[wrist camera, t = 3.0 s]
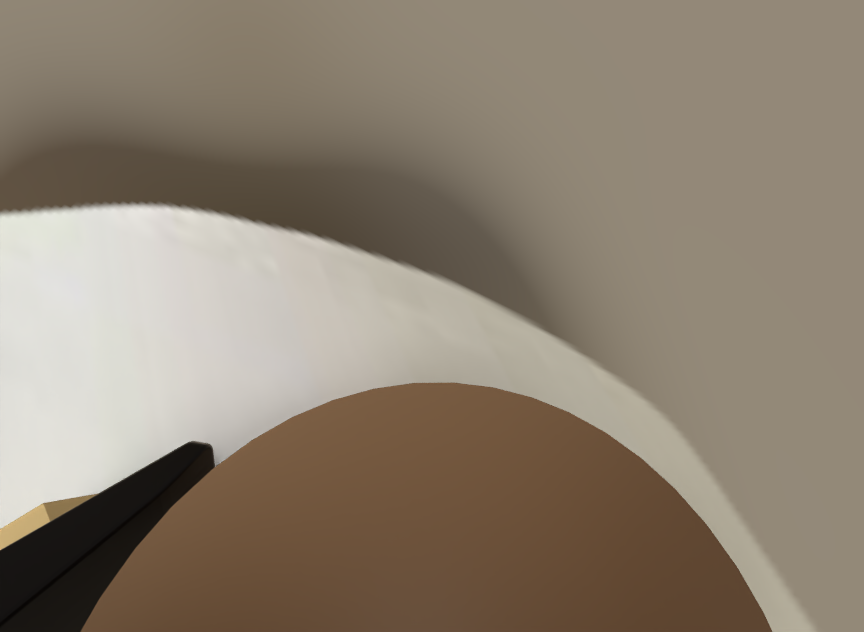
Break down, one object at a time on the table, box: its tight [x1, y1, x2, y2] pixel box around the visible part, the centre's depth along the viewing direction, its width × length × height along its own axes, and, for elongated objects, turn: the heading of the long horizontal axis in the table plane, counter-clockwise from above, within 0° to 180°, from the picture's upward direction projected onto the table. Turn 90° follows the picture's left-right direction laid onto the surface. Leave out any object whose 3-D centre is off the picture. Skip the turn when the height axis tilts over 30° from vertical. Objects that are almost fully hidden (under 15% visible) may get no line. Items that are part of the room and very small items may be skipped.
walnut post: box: [81, 383, 772, 632], centre depth 9 cm, size 4×4×14 cm
